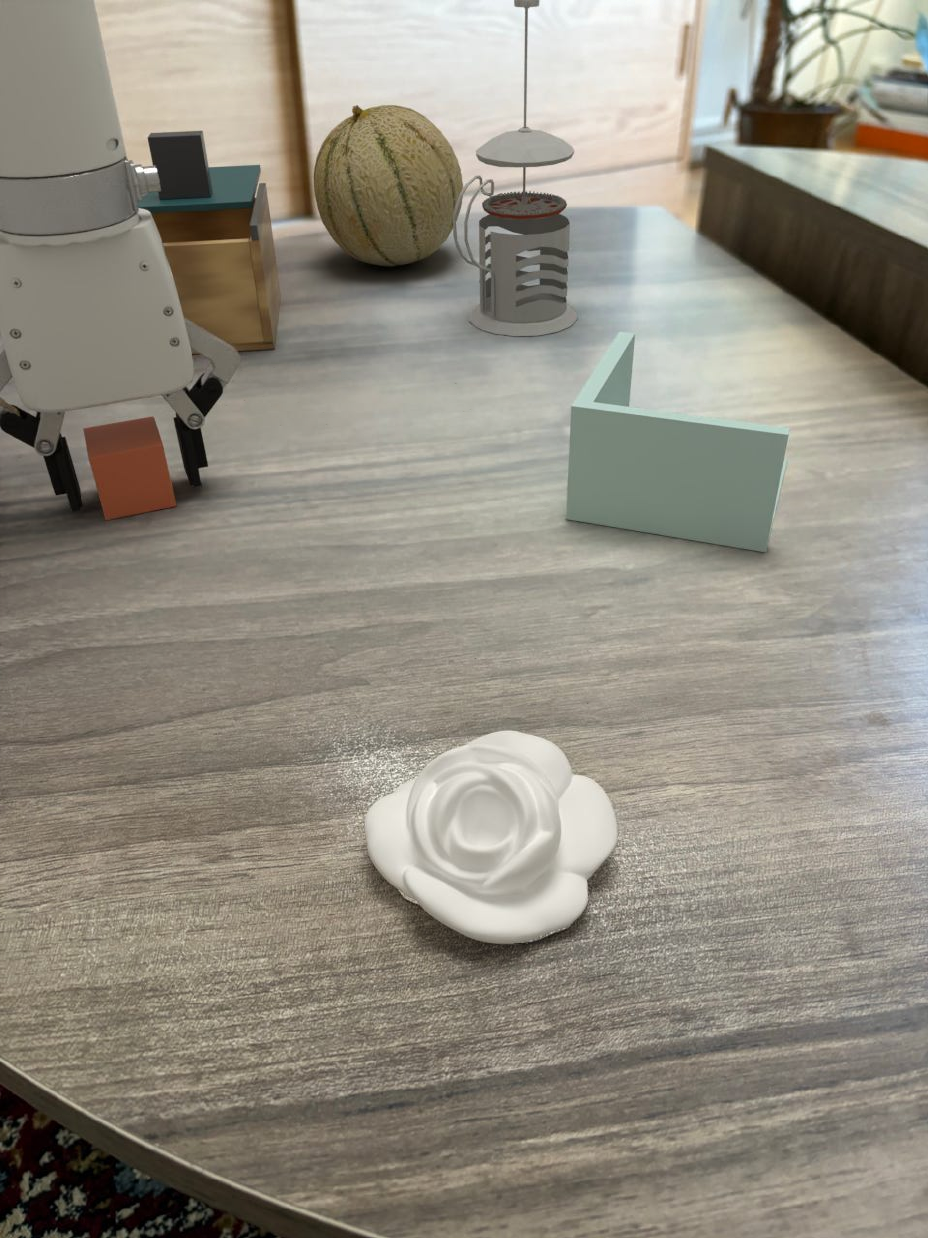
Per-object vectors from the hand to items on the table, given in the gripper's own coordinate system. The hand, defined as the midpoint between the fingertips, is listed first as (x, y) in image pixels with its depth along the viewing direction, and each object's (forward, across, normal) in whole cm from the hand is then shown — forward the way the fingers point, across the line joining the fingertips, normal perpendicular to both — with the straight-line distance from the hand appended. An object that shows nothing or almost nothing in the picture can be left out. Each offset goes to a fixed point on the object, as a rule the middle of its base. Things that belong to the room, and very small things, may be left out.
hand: (135, 487), depth 64 cm
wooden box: (+1, -9, -30) cm, 31 cm away
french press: (+1, -35, -20) cm, 40 cm away
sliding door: (-9, -11, -38) cm, 40 cm away
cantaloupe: (+1, -30, -40) cm, 50 cm away
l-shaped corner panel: (+1, -33, +13) cm, 35 cm away
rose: (+1, -10, +36) cm, 37 cm away
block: (+1, 0, 0) cm, 1 cm away
